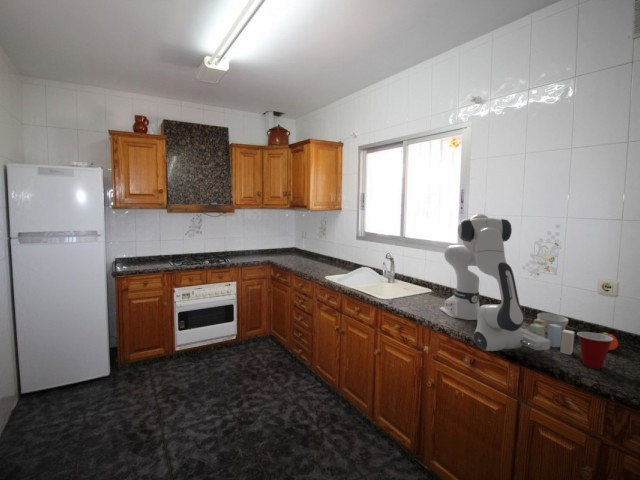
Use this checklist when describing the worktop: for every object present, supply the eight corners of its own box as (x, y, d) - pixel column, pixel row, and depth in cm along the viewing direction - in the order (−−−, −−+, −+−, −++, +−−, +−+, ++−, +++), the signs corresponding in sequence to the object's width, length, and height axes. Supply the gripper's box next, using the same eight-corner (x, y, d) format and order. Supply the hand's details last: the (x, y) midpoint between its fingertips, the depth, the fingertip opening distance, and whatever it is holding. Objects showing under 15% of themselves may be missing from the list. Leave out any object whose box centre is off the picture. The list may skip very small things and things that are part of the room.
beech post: (532, 338, 157) (533, 319, 156) (536, 337, 159) (537, 318, 158) (540, 341, 154) (542, 322, 153) (544, 340, 156) (546, 320, 155)
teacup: (555, 338, 158) (557, 322, 157) (529, 329, 169) (531, 313, 168) (576, 334, 164) (577, 318, 163) (549, 326, 175) (551, 311, 174)
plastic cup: (590, 358, 137) (593, 329, 136) (617, 371, 127) (621, 339, 126) (566, 359, 136) (569, 330, 135) (592, 372, 125) (595, 340, 124)
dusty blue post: (546, 344, 151) (548, 324, 150) (553, 343, 152) (555, 324, 151) (552, 347, 148) (554, 327, 147) (560, 347, 148) (562, 326, 147)
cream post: (559, 352, 143) (562, 331, 142) (562, 350, 145) (564, 329, 144) (570, 355, 140) (572, 333, 139) (572, 352, 142) (574, 331, 141)
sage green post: (528, 344, 144) (530, 324, 143) (534, 344, 145) (536, 323, 144) (535, 348, 141) (537, 327, 140) (542, 347, 142) (544, 326, 141)
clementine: (589, 345, 151) (591, 329, 151) (604, 345, 152) (606, 329, 151) (606, 352, 143) (607, 336, 143) (621, 352, 144) (623, 336, 143)
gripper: (534, 339, 129) (562, 336, 133) (493, 321, 148) (518, 318, 152) (533, 355, 129) (560, 352, 133) (492, 335, 149) (517, 332, 153)
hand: (538, 334), depth 143 cm, fingers closed on sage green post, 3 cm apart
